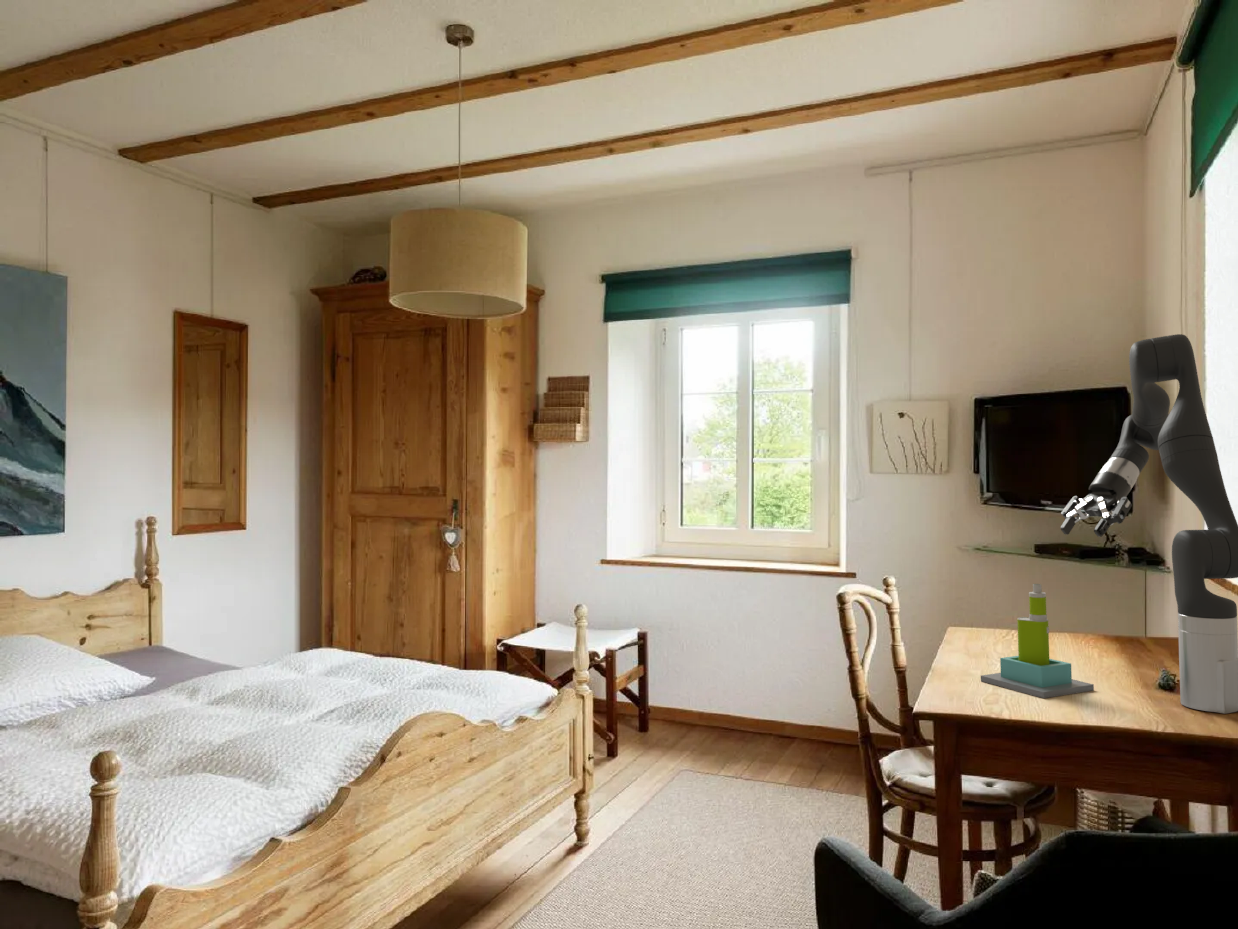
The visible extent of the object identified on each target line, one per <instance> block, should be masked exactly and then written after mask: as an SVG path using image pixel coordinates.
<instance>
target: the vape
mask: <svg viewBox="0 0 1238 929" xmlns="http://www.w3.org/2000/svg"><path fill="white" fill-rule="evenodd" d="M1042 589H1043V588H1042V584H1041V583H1032V591H1029V592H1028V597H1029V599H1028V600H1029V602H1028V603H1029V616H1028V617H1026V616H1020V617H1017V619H1016V620H1017V648H1018V649H1017V650H1018V652H1017V653H1018V655H1017V656H1019V661H1022V662H1026V663H1030V664H1034V665H1039V666H1044V665H1050V663H1049V659H1050V640H1049V639H1050V637H1049V636H1050V634H1049V633H1050V627H1049V619H1048V614H1047V593H1046V592H1043V591H1042Z"/></svg>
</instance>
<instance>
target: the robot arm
mask: <svg viewBox="0 0 1238 929" xmlns="http://www.w3.org/2000/svg"><path fill="white" fill-rule="evenodd" d="M1194 353H1195V352H1194V349H1193V346H1192V343H1191V341H1190V339H1189V338H1188V336H1186V335H1185V334H1183V333H1182V334H1181V333H1180V334H1178V333H1177V334H1171V335H1163V336H1159V337H1152V338H1147V339H1146V338H1145V339H1142V340H1138V341H1135V342H1133V344H1132V345H1131V347H1130V350H1129V357H1128V358H1129V359H1128V360H1129V361H1128V362H1129V364H1128V365H1129V373H1130V382H1131V390H1132V391H1131V392H1132V394H1133V404H1132V412H1131V414H1130V415H1129V416H1127V417H1126V418H1125V420H1124V421H1123V424H1122V428H1121V433H1120V437H1119V442H1118V444H1117V446H1116V448H1115V449H1114V451H1113V453H1112V454H1111V456H1110V457H1109V459H1108V460H1107V462H1105V463H1104V465H1102V468H1101V469H1100V470H1099V472H1097V474H1096V476H1095V478H1094V479H1093V481H1092V482H1091V483H1090V485H1089V486H1088V493H1087V495H1086V496H1085V497H1083V498H1079V496H1077V495H1074V496H1072V498H1070V500H1069V501H1068V502H1067V504H1066V505H1065V507H1064V508H1063V509H1062V511H1061V512H1060V514H1061V516H1062V517H1063V518H1064V521H1063V522H1062V524H1061V525H1060V530H1061V532H1062V533H1063V535H1069V534H1070V532H1071V531H1072V530H1073V528H1074V527H1075V525H1076V523H1077V522H1079V521H1081V520H1086V519H1087V518H1089V517H1102V518H1100V520H1099V521H1098V523H1096V525H1095V528H1094V529H1093V532H1094V534H1095V535H1096V536H1097V537H1098V538H1100V537H1103V535H1105V534H1106V533H1107V531H1108V530H1109V528H1110V527H1111V526H1113V525H1114V524H1115V523H1117V524H1118V525H1119V524H1122V523H1123V522H1124V521H1125V519H1126V517H1127V515H1128V513H1129V511H1130V509H1132V506H1133V504H1132V503H1131V501H1130V500H1129V499H1128V497H1127V496H1128V495H1129V493H1130V492H1131V491H1132V488H1133V487H1134V486H1135V485H1136V482H1137V480H1138V478H1139V476H1140V474H1141V472H1142V471H1143V469H1144V468H1145V466H1146V465H1147V463H1148V461H1149V458H1150V455H1149V452H1148V450H1147V449H1146V448H1148V449H1151V450H1153V451H1158V453H1159V457H1160V461H1161V465H1162V468H1163V472H1164V473H1165V475H1166V476H1167V478H1168V479H1169V480H1170V481H1171V482H1172V483H1173V484H1174V485H1175V487H1177V488H1178V490H1180V491H1181V493H1183V494H1184V495H1185V496H1186V497H1187V498H1188V499H1189V500H1190V501H1191V502H1192V503H1193V504H1194V505H1195V506H1196V508H1197V509H1198V511H1199V512H1200V514H1201V515H1202V517H1203V520H1204V522H1205V525H1206V528H1207V529H1185V530H1180V531H1178V532H1177V533H1176V534H1175V536H1174V538H1173V540H1172V544H1171V562H1172V571H1173V572H1172V573H1173V584H1174V595H1175V601H1176V604H1177V627H1178V628H1177V629H1178V631H1177V632H1178V661H1179V662H1178V664H1179V666H1178V667H1179V692H1180V693H1179V696H1180V701H1179V702H1180V704H1181V705H1182V706H1184V707H1186V708H1190V709H1192V710H1193V709H1194V710H1196V711H1197V710H1199V711H1205V712H1212V713H1220V714H1223V715H1225V714H1231V713H1237V712H1238V605H1237V603H1236V602H1235V601H1234V600H1232V599H1230V598H1228V597H1224V596H1220V595H1217V594H1215V593H1213V592H1212V591H1210V590H1209V589H1208V588H1207V587H1206V583H1205V580H1206V579H1209V580H1210V579H1211V580H1214V579H1215V580H1217V579H1218V580H1220V579H1221V580H1223V579H1226V580H1227V579H1238V522H1237V520H1236V516H1235V513H1234V511H1233V508H1232V505H1231V503H1230V500H1229V497H1228V494H1227V491H1226V490H1227V489H1226V486H1225V484H1224V479H1223V475H1222V471H1221V468H1220V463H1219V457H1218V452H1217V449H1216V446H1215V442H1214V437H1213V434H1212V430H1211V426H1210V423H1209V421H1208V420H1209V419H1208V417H1207V414H1206V413H1207V412H1206V409H1205V406H1204V403H1203V402H1204V401H1203V398H1202V392H1201V387H1200V386H1201V385H1200V382H1199V375H1198V370H1197V364H1196V359H1195V358H1196V357H1195V354H1194ZM1175 380H1176V381H1177V382H1178V386H1179V388H1178V393H1177V396H1176V399H1175V401H1174V404H1173V406H1172V409H1171V410H1170V406H1171V400H1170V396H1169V394H1168V393H1167V392H1166V390H1165V389H1164V388H1163V387H1162V386H1160V385H1159V384H1157V383H1160V382H1168V381H1175ZM1144 447H1145V448H1144ZM1082 509H1083V510H1084V512H1085V513H1083V512H1082ZM1077 514H1078V515H1077ZM1075 515H1077V516H1075Z"/></svg>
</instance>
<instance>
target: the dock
mask: <svg viewBox="0 0 1238 929" xmlns="http://www.w3.org/2000/svg"><path fill="white" fill-rule="evenodd" d="M999 660H1000V662H999V663H1000V672H997V673H996V672H995V673H990V674H983V675H982V674H981V675H980V682H983V683H985V684H990V685H993V686H998V687H1001V688H1004V689H1008V690H1012V691H1015V692H1018V693H1022V694H1027V695H1030V696H1034V697H1036V698H1041V699H1048V698H1055V697H1060V696H1066V695H1072V694H1078V693H1079V694H1080V693H1085V692H1093V691H1094V690H1095V688H1094V684H1093V683H1090V682H1089V683H1088V682H1086V681H1082V680H1081V681H1080V680H1077V679H1073V678H1072V663H1071V662H1067V661H1061V660H1057V659H1053V658H1049V663H1050V665H1044V666H1039V665H1034V664H1030V663H1026V662H1022V661H1019V655H1013V656H1006V657H1000V659H999Z"/></svg>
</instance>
